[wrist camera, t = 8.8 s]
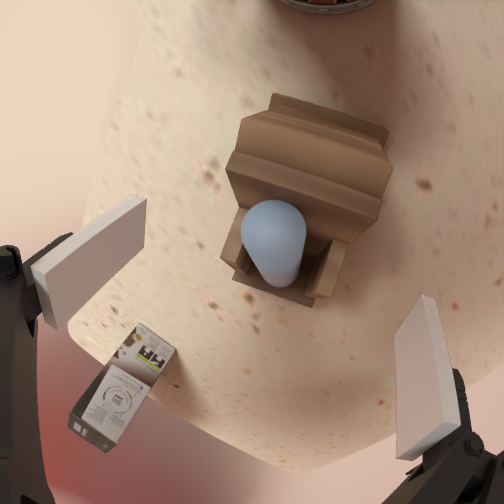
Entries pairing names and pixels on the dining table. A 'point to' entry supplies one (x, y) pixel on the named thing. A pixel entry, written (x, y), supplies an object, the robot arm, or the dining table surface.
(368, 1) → the mug
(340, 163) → the socket block
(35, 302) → the robot arm
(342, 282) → the dining table surface
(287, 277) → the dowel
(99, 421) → the coffee box
